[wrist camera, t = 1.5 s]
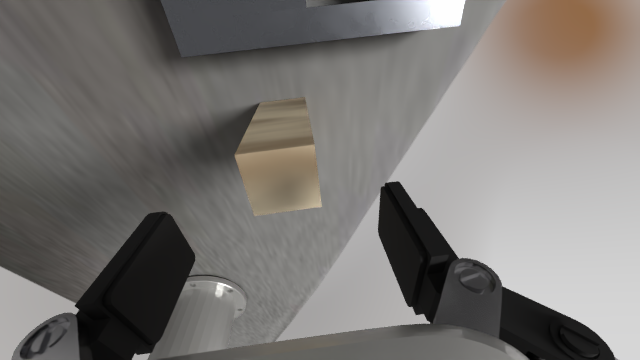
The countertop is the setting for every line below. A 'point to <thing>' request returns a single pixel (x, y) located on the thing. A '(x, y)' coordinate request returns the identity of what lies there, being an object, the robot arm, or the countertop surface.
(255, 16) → the rail
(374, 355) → the robot arm
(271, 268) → the countertop surface
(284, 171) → the peg
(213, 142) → the countertop surface
